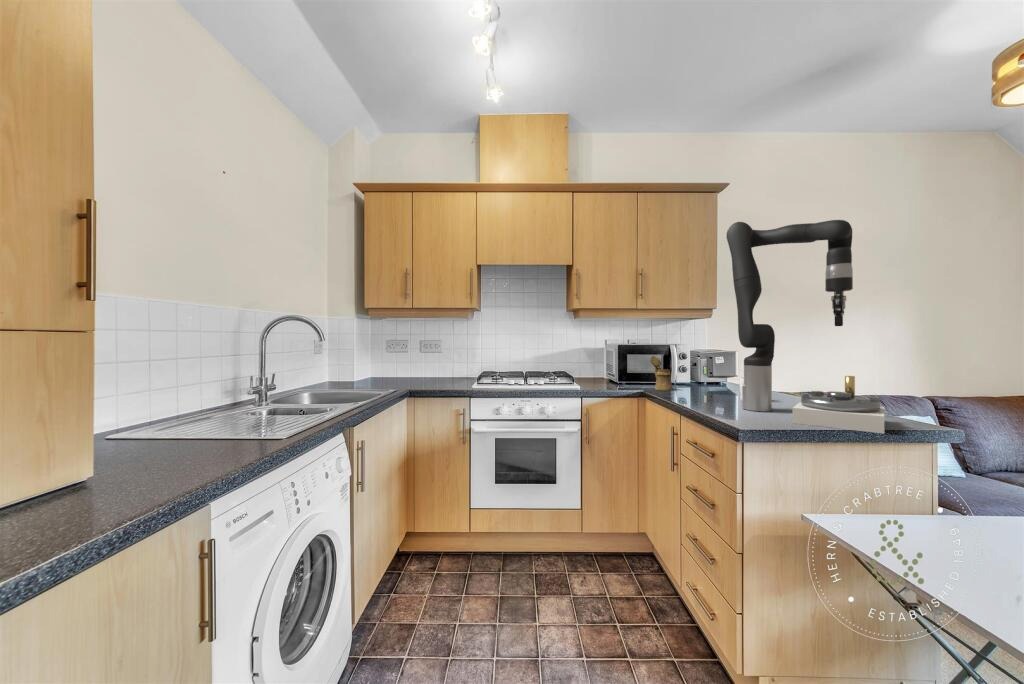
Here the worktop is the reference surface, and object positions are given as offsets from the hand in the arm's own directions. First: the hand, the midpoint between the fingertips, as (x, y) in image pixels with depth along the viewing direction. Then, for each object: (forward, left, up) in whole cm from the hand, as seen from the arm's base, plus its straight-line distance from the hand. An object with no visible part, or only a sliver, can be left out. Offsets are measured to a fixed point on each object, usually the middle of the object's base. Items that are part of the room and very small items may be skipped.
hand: (838, 326), depth 142 cm
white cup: (-32, +18, -32) cm, 49 cm away
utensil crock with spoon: (-77, +30, -32) cm, 89 cm away
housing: (+1, -15, -32) cm, 35 cm away
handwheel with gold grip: (+1, -15, -27) cm, 31 cm away
